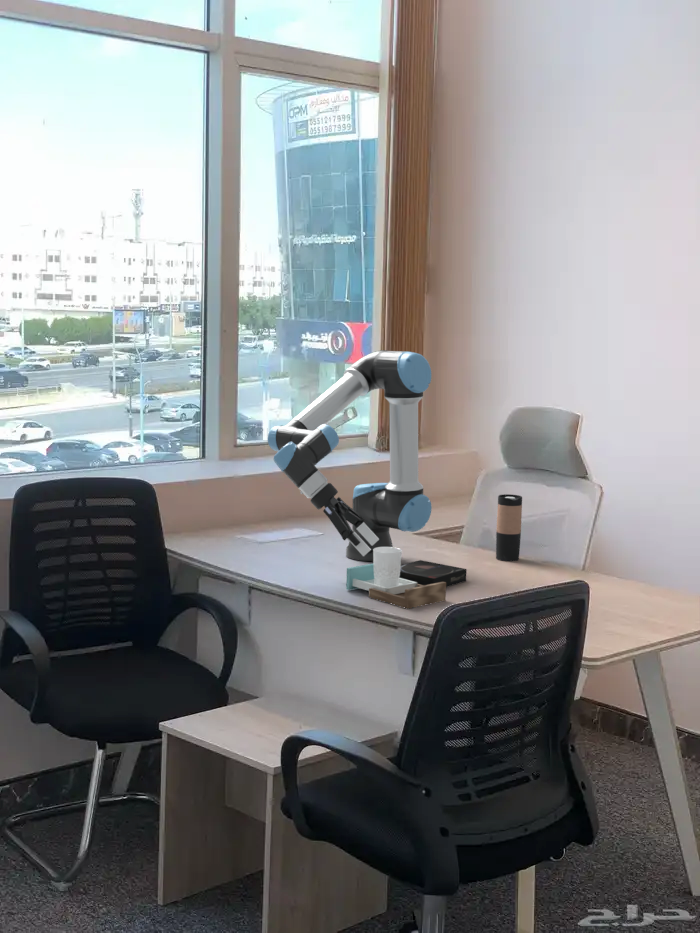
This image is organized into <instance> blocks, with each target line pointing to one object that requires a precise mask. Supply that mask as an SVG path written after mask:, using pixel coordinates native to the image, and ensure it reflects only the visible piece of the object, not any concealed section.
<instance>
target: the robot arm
mask: <svg viewBox="0 0 700 933" xmlns="http://www.w3.org/2000/svg"><path fill="white" fill-rule="evenodd" d="M431 381H432V368H431V366H430V363H429V361H428V359H426V358H425V356H424V355H422V354H421V353H417V352H413V351H407V350H406V351H403V350H401V351H400V350H385V349H384V350H382V349H381V350H376V351H373V352H370V353H369V354H366V355H364V356H363V357H360V359H358V360H356V361H355V362H354V363H352V364H351V365H350V366H349V367H347V368H346V369H345V370H344V372H343V375H342V377H341V378H340V379H339V380H337V381H336V382H335V383H334V384H332V385H331V386H330V387H329V388H328V389H327V390H325V392H323V393H322V394H320V395H319V396H318V397H317V398H316V399H314V400H313V401H312V403H310V404H309V405H307V406H306V407H305V408H304V409H303V410H302V411H300V413H299V414H297V415H296V416H294V418H292V419H291V420H290V421H289V422H288V423H286V424H285V425H283V424H282V425H276V426H273V427H272V428H271V429H269V432H268V434H267V443H268V446H269V447H270V449H271V450H273V451H275V452H276V453H275V454H274V455H273V461H274V463H275V464H276V466H277V467H278V468H279V470H280V471H281V472H282V473H284V475H285V476H286V477H287V478H288V479H289V480H290V482H292V484H294V486H296V487H297V488H298V490H299V492H300V495H304V496H305V497H306V498H307V499H310V503H311V504H312V505H313V506H314V507H315V508H316V510H319V511H320V510H321V509H322V508H323V507H324V509H323V510H322V511H323V513H324V514H325V515H326V517H327V518H328V519H329V521H330V522H331V523H332V525H333V526H334V528H335V529H336V531H337V532H338V533H339V535H340V537H341V539H342V540H343V541H346V540H348V545H347V546H346V549H345V551H346V552H345V556H346V557H347V558H348V559H351V560H356V561H361V562H363V561H364V562H373V549H374V548H377V547H394V545H393V541H392V537H391V534H390V529H394V530H399V531H401V532H409V533H410V532H411V533H416V532H418V531H420V530H421V529H423V528H424V527H425V526H426V524H427V523H428V522H429V521H430V517H431V514H432V502H431V500H430V498H429V497H428V496H427V495H425V494H424V485H423V484H422V483H421V482H420V480H419V403H420V401H421V400H423V398H424V392H425V391H427V390H428V388H429V387H430V384H431ZM378 389H379V390H380V389H381V390H383V391H384V392H383V394H384V395H383V396H384V399H386V400H387V402H388V403H389V481H388V482H375V483H374V482H373V483H372V482H371V483H363V484H358V485H356V486H355V487H354V488H353V496H352V507H350V506H349V505H348V504H347V503H346V502H344V500H343V499H342V498H341V497H340V496H338V497H337V498H336V497H335V496H336V495H338V493H339V491H338V490H337V488H336V487H335V486H334V485H333V484H332V482H328V478H327V477H326V476H325V475H324V474H323V473H322V472H321V471H320V470H319V469H318V468H317V467H316V465H318V463H319V462H320V461H322V460H323V459H325V457H327V456H329V454H330V453H332V452H333V450H334V449H335V448H336V447H337V446H339V442H340V438H339V436H338V433H337V431H336V430H335V429H334V428H333V427H332V426H331V425H329V422H331V421H332V420H333V419H334V418H335V417H337V416H338V415H339V414H340V413H341V412H342V411H344V410H345V409H346V408H347V407H348V406H350V404H352V403H353V402H354V401H355V400H356V399H357V398H359V397H365V396H366V395H367V394H368V393H369V392H371V391H374V390H378ZM350 524H351V525H352V528H351V526H350Z"/></svg>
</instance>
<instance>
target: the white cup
mask: <svg viewBox="0 0 700 933" xmlns="http://www.w3.org/2000/svg"><path fill="white" fill-rule="evenodd" d="M402 556H403V549H401V548H400V547H399V548H398V547H395V546H393V547H377V548H374V549H373V561H372V562H373V563H372V564H373V568H374V584H376V585H379V586H383V587H386V588H388V587H393V586H398V585H399V576H400V567H401V565H402V558H403V557H402Z"/></svg>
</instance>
